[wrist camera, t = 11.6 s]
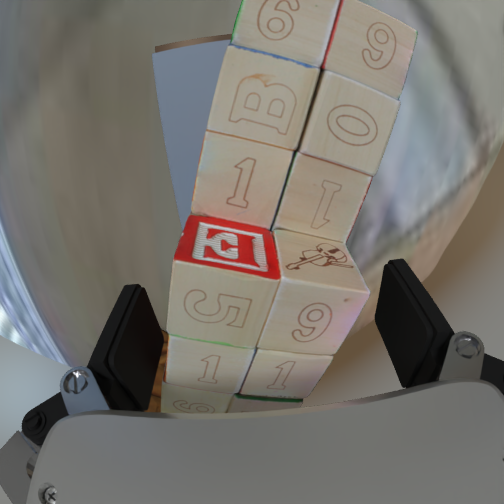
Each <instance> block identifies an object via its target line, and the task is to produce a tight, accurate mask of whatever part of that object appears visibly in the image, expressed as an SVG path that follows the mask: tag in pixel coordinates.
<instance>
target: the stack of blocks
mask: <svg viewBox="0 0 504 504" xmlns="http://www.w3.org/2000/svg"><path fill="white" fill-rule="evenodd" d="M417 35H418V32H417V31H416V30H415V29H413V28H411V27H410V26H408V25H406V24H404V23H403V22H401V21H399V20H397V19H395V18H393V17H391V16H389V15H387V14H385V13H383V12H381V11H379V10H377V9H375V8H373V7H371V6H369V5H367V4H365V3H363V2H360V1H358V0H242V2H241V5H240V8H239V11H238V14H237V17H236V21H235V24H234V29H233V33H232V37H231V41H230V44H229V45H228V46H227V49H226V52H225V55H224V58H223V62H222V66H221V70H220V73H219V77H218V81H217V85H216V89H215V93H214V97H213V101H212V105H211V110H210V114H209V118H208V123H207V129H206V132H205V135H204V139H203V143H202V149H201V153H200V158H199V163H198V168H197V174H196V180H195V186H194V191H193V197H192V204H191V213H190V215H189V216H188V218H187V221H186V223H185V227H184V230H183V232H182V235H181V237H180V240H179V243H178V246H177V249H176V252H175V255H174V259H173V266H172V275H171V284H170V294H169V306H168V318H167V330H166V331H167V332H168V334H169V336H168V346H167V358H166V363H165V368H164V374H163V379H162V390H161V410H160V413H192V414H211V413H243V412H260V411H273V410H284V409H294V408H300V407H301V405H302V404H303V398H306V397H308V396H309V395H310V393H311V392H312V391H313V389H314V388H315V386H316V385H317V383H318V382H319V381H320V379H321V377H322V376H323V374H324V373H325V371H326V369H327V368H328V367H329V365H330V364H331V362H332V360H333V354H335V353H336V352H337V351H338V349H339V348H340V346H341V345H342V343H343V341H344V340H345V338H346V336H347V335H348V333H349V331H350V330H351V328H352V326H353V325H354V323H355V321H356V320H357V318H358V316H359V314H360V312H361V310H362V309H363V307H364V305H365V303H366V301H367V300H368V298H369V296H370V292H371V291H370V290H369V289H368V287H367V285H366V283H365V281H364V279H363V277H362V275H361V273H360V271H359V269H358V267H357V265H356V264H355V262H354V260H353V258H352V256H351V254H350V252H349V250H348V248H347V247H346V245H345V244H346V242H347V240H348V238H349V235H350V233H351V231H352V228H353V226H354V224H355V221H356V219H357V216H358V214H359V211H360V209H361V206H362V204H363V201H364V199H365V197H366V194H367V192H368V189H369V186H370V184H371V181H372V177H373V176H375V175H376V173H377V171H378V168H379V166H380V163H381V160H382V158H383V155H384V152H385V149H386V146H387V144H388V141H389V138H390V135H391V132H392V129H393V126H394V123H395V120H396V117H397V114H398V111H399V107H400V100H399V97H400V95H401V93H402V90H403V87H404V84H405V80H406V77H407V73H408V69H409V66H410V63H411V59H412V55H413V51H414V47H415V43H416V39H417Z"/></svg>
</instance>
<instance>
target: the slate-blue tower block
mask: <svg viewBox="0 0 504 504" xmlns="http://www.w3.org/2000/svg"><path fill="white" fill-rule="evenodd" d="M230 41H231V40H223V41H215V42H208V43H202V44H196V45H190V46H185V47H180V48H175V49H170V50H166V51H162V52H157V53H153V54H152V59H153V67H154V75H155V82H156V89H157V96H158V103H159V110H160V116H161V122H162V128H163V134H164V140H165V146H166V151H167V157H168V162H169V168H170V173H171V178H172V183H173V188H174V193H175V198H176V203H177V208H178V212H179V217H180V221H181V226H182V231H183V230H184V227H185V223H186V221H187V218H188V216H189V215H190V213H191V204H192V197H193V191H194V186H195V180H196V174H197V168H198V163H199V158H200V153H201V149H202V143H203V139H204V135H205V132H206V129H207V123H208V118H209V114H210V110H211V105H212V101H213V97H214V93H215V89H216V85H217V81H218V77H219V73H220V70H221V66H222V62H223V58H224V55H225V52H226V49H227V46H228V45H229V44H230Z"/></svg>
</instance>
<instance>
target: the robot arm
mask: <svg viewBox="0 0 504 504" xmlns="http://www.w3.org/2000/svg"><path fill="white" fill-rule="evenodd" d="M375 322H376V325H377V327H378V330H379V332H380V334H381V337H382V339H383V341H384V344H385V346H386V348H387V351H388V353H389V356H390V358H391V360H392V363H393V365H394V368H395V370H396V373H397V375H398V378H399V381H400V383H401V385H402V387H403V388H405V387H406V389H402V390H398V391H393V392H389V393H384V394H379V395H375V396H370V397H366V398H361V399H355V400H350V401H344V402H338V403H331V404H325V405H318V406H310V407H303V408H294V409H284V410H273V411H260V412H243V413H211V414H192V413H159V412H144V411H147V410H148V408H149V403H150V399H151V394H152V390H153V386H154V381H155V377H156V373H157V369H158V365H159V361H160V357H161V353H162V349H163V345H164V336H163V333H162V331H161V328H160V326H159V323H158V321H157V318H156V316H155V313H154V311H153V308H152V306H151V303H150V300H149V298H148V295H147V292H146V290H145V288H143V287H141V286H140V285H139V284H132V285H125V286H124V288H123V290H122V292H121V294H120V296H119V298H118V300H117V302H116V304H115V306H114V308H113V310H112V312H111V314H110V316H109V318H108V320H107V322H106V325H105V327H104V329H103V331H102V333H101V335H100V338H99V340H98V342H97V344H96V347H95V349H94V351H93V354H92V356H91V358H90V361H89V363H88V366H87V367H83V366H79V367H74V368H72V369H70V370H69V371H67V372H66V374H65V375H64V376H63V377H62V379H61V382H60V391H61V392H59V393H57V394H56V395H54V396H53V397H51V398H50V399H48V400H46V401H45V402H43V403H41V404H40V405H38V406H37V407H35V408H33V409H32V410H30V411H29V412H28V413H27V414H26V415H25V417H24V419H23V421H22V431H21V432H19V431H17V432H16V433H15V434H14V435H13V436H12V437H11V438H10V439H9V440H8V442H7V443H6V444H5V445H4V446H3V447H2V448H1V449H0V485H1V486H2V488H3V490H4V491H5V493H6V494H7V496H8V497H9V499H10V500H11V502H12V503H13V504H504V361H502V360H500V359H497V358H495V357H492V356H490V355H487V354H485V353H484V345H483V343H482V341H481V340H480V338H479V337H477V336H476V335H475V334H472V333H470V332H466V331H463V332H458V333H454V331H453V330H452V328H451V327H450V325H449V324H448V322H447V321H446V319H445V317H444V316H443V314H442V313H441V311H440V310H439V308H438V307H437V305H436V304H435V303H434V301H433V299H432V298H431V296H430V295H429V293H428V292H427V291H426V289H425V288H424V287H423V285H422V284H421V282H420V281H419V279H418V278H417V277H416V275H415V274H414V272H413V271H412V270H411V268H410V267H409V266H408V264H407V263H406V261H405V260H404V259H395V260H389V262H388V264H386V265H385V266H384V270H383V276H382V281H381V287H380V293H379V298H378V303H377V308H376V313H375Z"/></svg>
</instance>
